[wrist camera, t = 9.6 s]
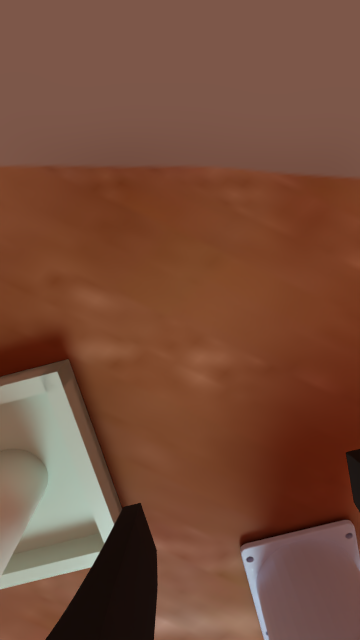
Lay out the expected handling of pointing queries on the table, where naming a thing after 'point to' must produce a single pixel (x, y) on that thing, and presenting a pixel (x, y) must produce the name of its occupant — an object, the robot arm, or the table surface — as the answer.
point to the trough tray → (57, 473)
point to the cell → (18, 497)
